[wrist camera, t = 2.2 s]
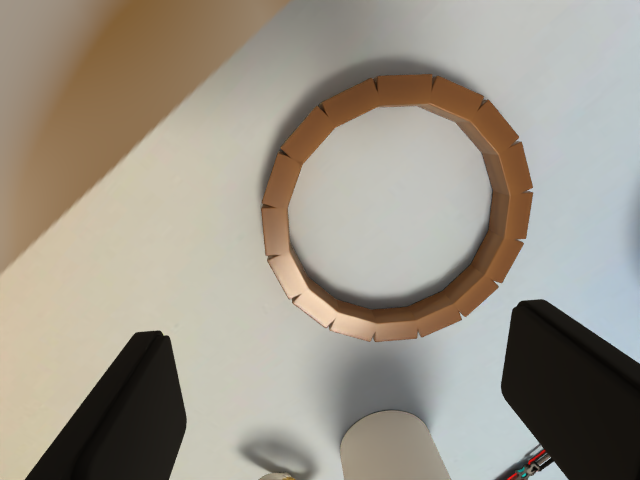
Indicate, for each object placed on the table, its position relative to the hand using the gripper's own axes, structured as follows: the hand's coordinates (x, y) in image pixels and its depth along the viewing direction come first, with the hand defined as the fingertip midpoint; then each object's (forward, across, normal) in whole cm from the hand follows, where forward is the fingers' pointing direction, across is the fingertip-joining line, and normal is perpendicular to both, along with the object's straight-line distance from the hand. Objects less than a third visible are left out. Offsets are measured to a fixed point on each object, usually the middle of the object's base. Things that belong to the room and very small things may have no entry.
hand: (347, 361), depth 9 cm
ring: (+15, -6, 0) cm, 16 cm away
